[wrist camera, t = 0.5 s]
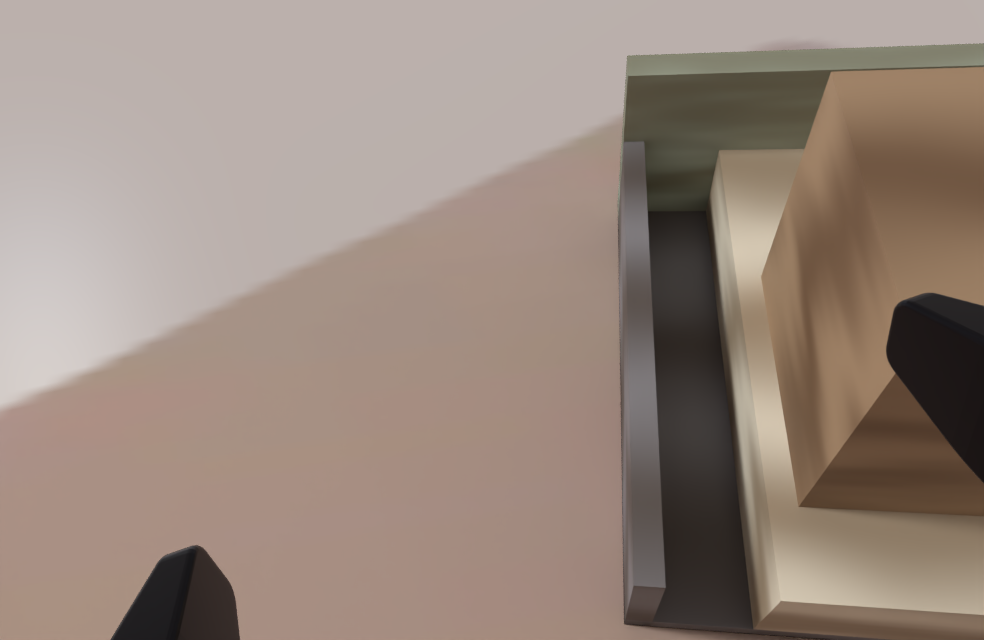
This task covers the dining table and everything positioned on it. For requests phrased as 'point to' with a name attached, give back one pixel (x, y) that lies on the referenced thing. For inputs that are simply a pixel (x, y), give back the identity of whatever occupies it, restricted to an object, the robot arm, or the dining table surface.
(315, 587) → the dining table surface
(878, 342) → the walnut block
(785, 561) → the trap box
